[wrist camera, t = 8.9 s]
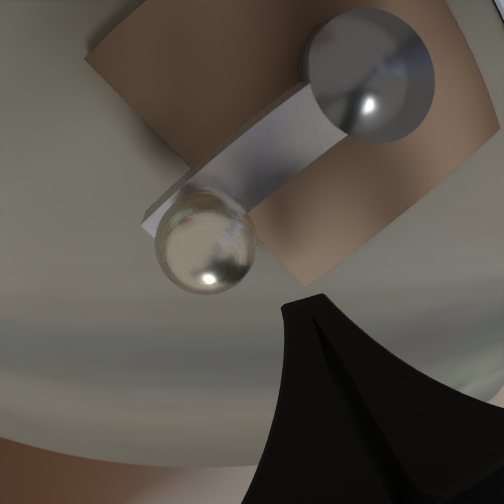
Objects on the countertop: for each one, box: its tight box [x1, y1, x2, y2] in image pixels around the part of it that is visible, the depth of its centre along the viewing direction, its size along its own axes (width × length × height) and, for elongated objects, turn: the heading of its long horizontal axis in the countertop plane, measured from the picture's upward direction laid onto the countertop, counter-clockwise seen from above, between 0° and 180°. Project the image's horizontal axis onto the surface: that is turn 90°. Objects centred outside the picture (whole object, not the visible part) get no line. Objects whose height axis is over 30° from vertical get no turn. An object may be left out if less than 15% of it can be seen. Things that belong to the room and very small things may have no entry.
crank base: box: [84, 0, 500, 288], centre depth 8 cm, size 11×11×1 cm
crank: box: [141, 8, 435, 295], centre depth 6 cm, size 9×4×4 cm, turn 129°
